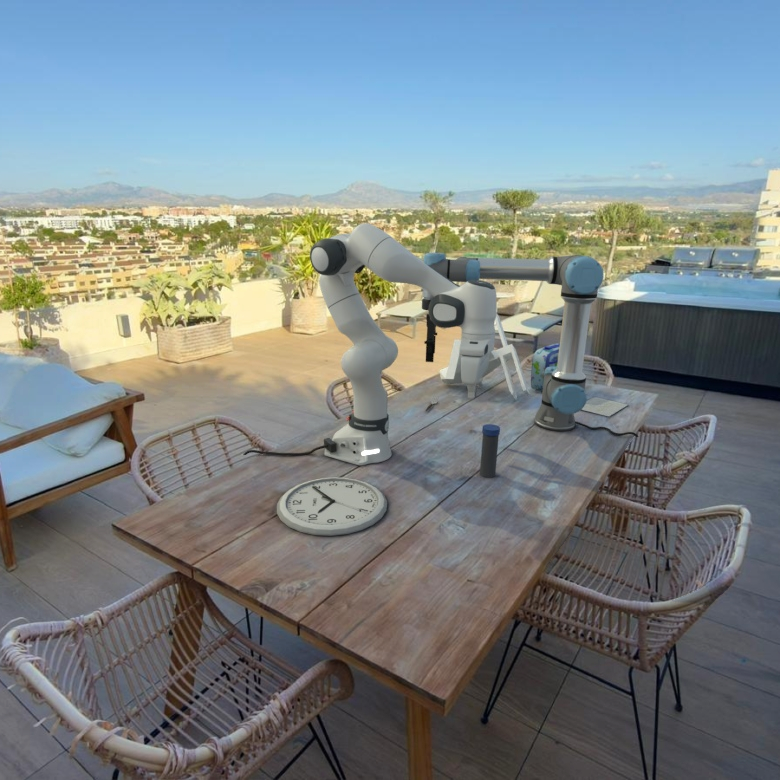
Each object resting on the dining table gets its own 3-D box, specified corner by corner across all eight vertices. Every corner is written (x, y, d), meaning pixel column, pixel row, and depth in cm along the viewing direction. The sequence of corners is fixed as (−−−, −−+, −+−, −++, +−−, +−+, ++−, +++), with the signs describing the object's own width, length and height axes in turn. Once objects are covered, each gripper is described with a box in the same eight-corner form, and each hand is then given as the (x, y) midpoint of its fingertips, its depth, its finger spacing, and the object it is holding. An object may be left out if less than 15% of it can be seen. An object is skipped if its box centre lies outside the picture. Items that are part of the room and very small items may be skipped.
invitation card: (608, 416, 214) (573, 407, 224) (608, 416, 214) (573, 408, 224) (628, 404, 229) (594, 396, 238) (628, 405, 229) (594, 397, 238)
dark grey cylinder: (498, 475, 162) (502, 429, 157) (487, 479, 159) (491, 432, 155) (487, 469, 166) (491, 424, 161) (476, 473, 163) (480, 427, 158)
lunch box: (547, 395, 239) (552, 351, 233) (526, 390, 247) (530, 347, 240) (574, 384, 257) (579, 343, 251) (554, 380, 264) (558, 339, 258)
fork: (422, 411, 216) (422, 407, 215) (433, 400, 230) (433, 396, 230) (428, 412, 215) (429, 407, 215) (438, 401, 230) (439, 396, 229)
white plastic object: (461, 429, 252) (437, 405, 227) (444, 352, 274) (420, 323, 250) (535, 404, 240) (518, 377, 215) (510, 326, 262) (492, 293, 237)
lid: (503, 433, 158) (503, 428, 157) (491, 437, 155) (491, 431, 154) (490, 428, 162) (491, 422, 161) (478, 432, 159) (479, 426, 158)
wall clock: (392, 527, 129) (268, 531, 127) (391, 533, 130) (269, 537, 127) (383, 473, 158) (282, 475, 155) (383, 478, 158) (282, 480, 156)
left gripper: (473, 334, 149) (471, 381, 154) (457, 349, 131) (455, 401, 135) (495, 336, 147) (492, 383, 152) (482, 351, 129) (479, 404, 133)
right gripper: (424, 293, 195) (422, 349, 202) (419, 302, 172) (417, 365, 178) (444, 294, 195) (441, 350, 201) (442, 303, 171) (439, 366, 177)
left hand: (474, 392), depth 143 cm, fingers open, 8 cm apart
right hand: (430, 357), depth 190 cm, fingers open, 13 cm apart
